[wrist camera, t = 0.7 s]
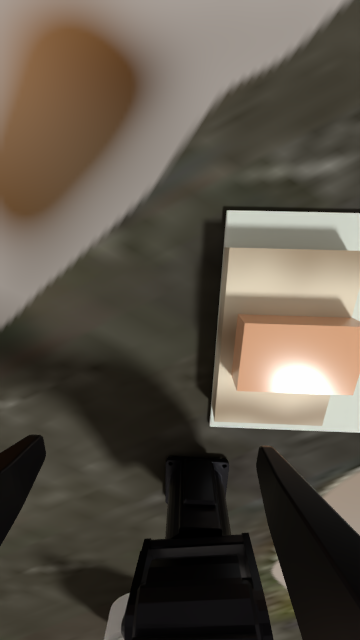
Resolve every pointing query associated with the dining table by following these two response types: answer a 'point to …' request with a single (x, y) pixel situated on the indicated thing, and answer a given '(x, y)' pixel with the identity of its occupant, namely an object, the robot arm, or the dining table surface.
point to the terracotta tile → (296, 354)
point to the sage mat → (299, 234)
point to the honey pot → (116, 618)
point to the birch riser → (286, 300)
